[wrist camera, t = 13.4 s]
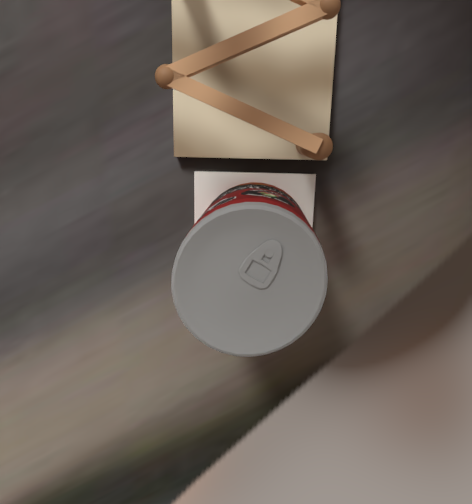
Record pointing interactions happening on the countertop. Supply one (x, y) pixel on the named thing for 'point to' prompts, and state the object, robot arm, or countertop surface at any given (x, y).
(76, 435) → the countertop surface
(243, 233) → the canned food
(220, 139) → the wooden zigzag stand
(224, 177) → the coaster
